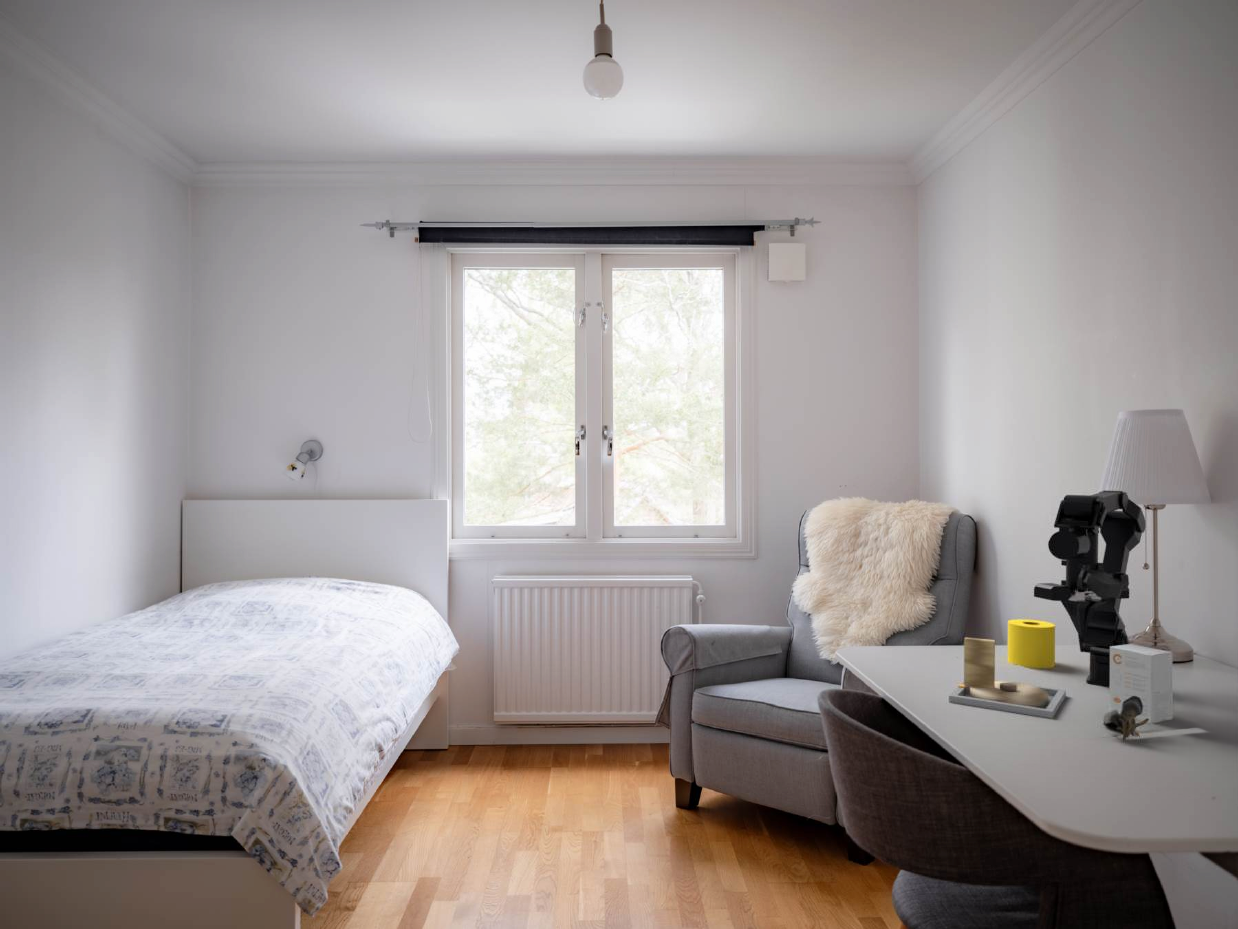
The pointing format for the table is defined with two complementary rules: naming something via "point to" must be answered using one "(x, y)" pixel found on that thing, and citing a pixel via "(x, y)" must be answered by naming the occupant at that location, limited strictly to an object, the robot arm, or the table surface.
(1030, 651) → the tape roll
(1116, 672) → the small box
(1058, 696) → the bezel plate
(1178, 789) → the table surface
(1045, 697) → the beige disc with bar
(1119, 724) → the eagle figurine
